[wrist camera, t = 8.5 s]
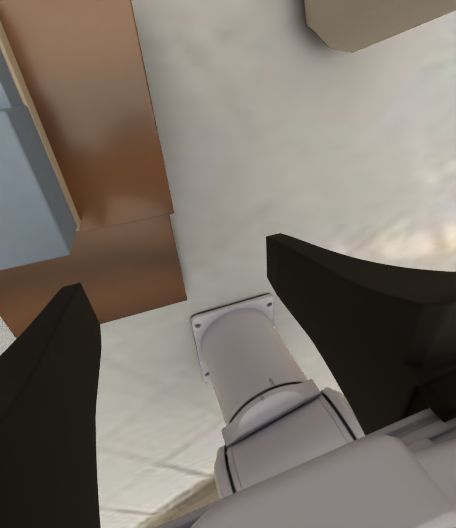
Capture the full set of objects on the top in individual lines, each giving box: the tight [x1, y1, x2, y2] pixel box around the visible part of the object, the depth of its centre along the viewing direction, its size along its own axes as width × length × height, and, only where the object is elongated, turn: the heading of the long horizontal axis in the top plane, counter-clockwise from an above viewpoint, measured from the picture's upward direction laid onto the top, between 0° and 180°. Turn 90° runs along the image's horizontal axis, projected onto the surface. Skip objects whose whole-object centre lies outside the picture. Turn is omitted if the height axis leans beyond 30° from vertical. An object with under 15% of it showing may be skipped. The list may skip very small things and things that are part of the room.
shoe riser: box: [0, 0, 187, 339], centre depth 16 cm, size 18×12×6 cm, turn 5°
